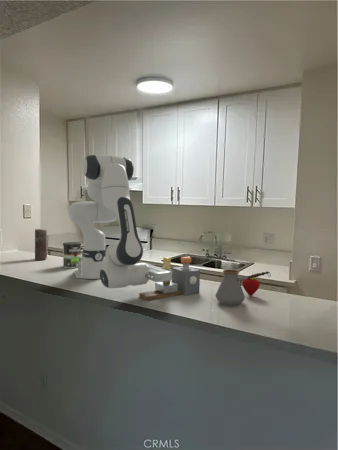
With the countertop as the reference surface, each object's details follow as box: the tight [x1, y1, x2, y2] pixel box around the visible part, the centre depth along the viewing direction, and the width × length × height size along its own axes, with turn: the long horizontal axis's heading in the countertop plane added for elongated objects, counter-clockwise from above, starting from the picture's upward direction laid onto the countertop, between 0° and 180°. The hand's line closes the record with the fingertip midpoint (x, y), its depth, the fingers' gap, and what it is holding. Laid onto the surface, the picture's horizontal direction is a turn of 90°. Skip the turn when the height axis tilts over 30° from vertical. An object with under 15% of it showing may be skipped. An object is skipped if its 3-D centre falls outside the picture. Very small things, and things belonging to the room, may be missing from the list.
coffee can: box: [62, 241, 82, 269], centre depth 185 cm, size 10×10×14 cm
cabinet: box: [171, 265, 201, 296], centre depth 139 cm, size 11×8×10 cm
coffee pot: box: [215, 269, 272, 307], centre depth 121 cm, size 21×12×15 cm, turn 53°
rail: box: [138, 289, 183, 301], centre depth 132 cm, size 6×18×2 cm, turn 124°
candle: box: [34, 228, 48, 261], centre depth 205 cm, size 8×7×20 cm
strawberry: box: [241, 272, 261, 297], centre depth 134 cm, size 6×8×10 cm
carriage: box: [154, 256, 178, 293], centre depth 133 cm, size 7×7×14 cm
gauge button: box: [180, 256, 192, 270], centre depth 139 cm, size 5×5×11 cm
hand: (168, 270), depth 134 cm, fingers closed on carriage, 3 cm apart
